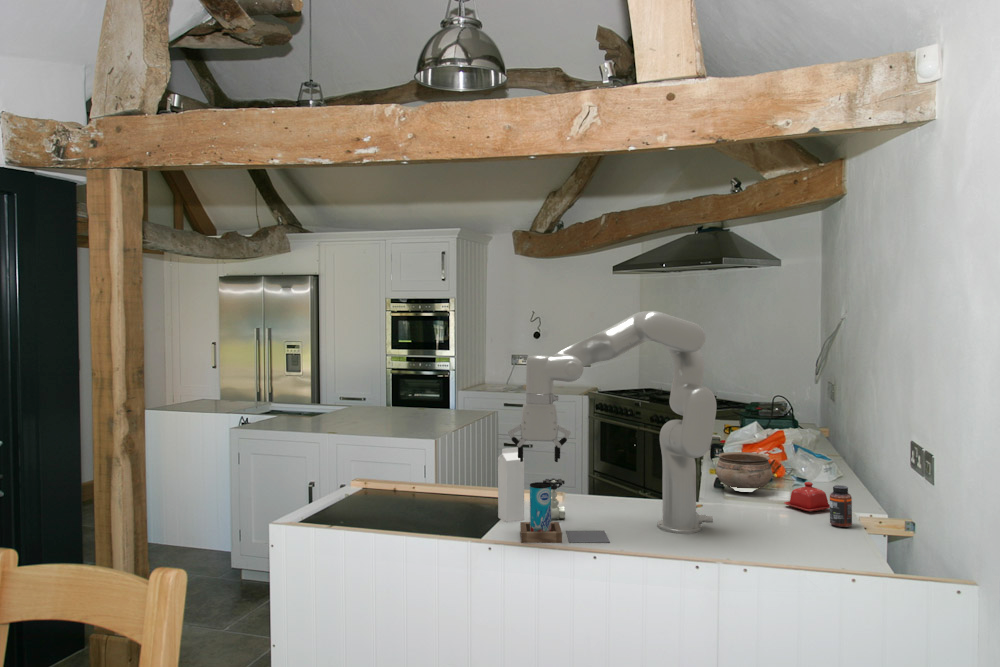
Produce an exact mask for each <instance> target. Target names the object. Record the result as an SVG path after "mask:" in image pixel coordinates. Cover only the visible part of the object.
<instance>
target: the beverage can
mask: <svg viewBox="0 0 1000 667" xmlns="http://www.w3.org/2000/svg"><path fill="white" fill-rule="evenodd" d="M551 492H552V489H551V484H550V483H545V482H543V481H537V482H531V483H530V484H529V522H530V532H547V531H551V522H552V520H551V498H552V497H551Z"/></svg>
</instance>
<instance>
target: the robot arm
mask: <svg viewBox="0 0 1000 667" xmlns="http://www.w3.org/2000/svg"><path fill="white" fill-rule="evenodd" d="M645 342H655V343H658V344H661V345H663V347H664V348H665V349H666V350H668V353H669V354H670V355H671V357H672V360H673V376H672V381H671V382H672V383H671V389H670V393H669V394H670V395H669V401H668V402H669V406H670V409H671V410H672V412H674V413H675V414H677V415H680V416H681V417H682V419H670V420H668V421H666V423H664V424H663V426H662V427H661V429H660V432H659V445H660V446H659V447H660V450H661V452H660V453H661V460H662V462H661V463H662V465H661V466H662V480H661V481H662V519H660V520H658V521H657V525H656V526H657V528H658V529H659V530H660V531H662V532H667V533H672V534H682V535H684V534H685V535H686V534H687V535H690V534H696V533H699V532H701V531H702V530H703V529H702V524H703V523H706V524H712V523H713V522H714V517H713V515H706V514H699V513H698V512H697V464H696V459H698V458H701V457H703V456H704V455H706V454H707V452H708V451H709V449H710V447H711V445H712V441H713V434H714V430H715V422H716V416H717V400H716V396H715V395H714V393H713V391H712V390H711V389H709V388H708V387H706V386H704V385H703V382H704V374H705V361H704V357H703V353H702V351H701V349H702V348H703V347H704V345H705V343H706V333H705V330H704V329H703V328H702V327H701V326H700V325H699V324H698V323H695V322H693V321H691V320H690V321H689V320H687V319H683V318H680V317H676V316H673V315H669V314H668V313H665V312H661V311H657V310H649V311H648V310H647V311H643V310H642V311H639V312H635V313H634V314H631V315H630V316H628V317H626V318H624V319H622V320H621V321H618V322H617V323H615V324H613V325H611V326H609V327H607V328H606V329H603V330H601V331H600V332H598V333H595V334H592V335H591V336H589V337H587V338H586V337H585V338H584V339H582V340H580V341H577V342H575V343H573V344H571V345H569V346H567V347H566V348H563V349H561V350H560V351H557V352H556V353H555V354H553V355H551V356H550V355H546V354H545V355H544V354H543V355H541V354H538V355H537V354H534V355H529V356H528V357H527V358H526V367H525V368H526V369H525V370H526V372H525V374H526V376H525V377H526V378H525V381H526V382H525V385H526V386H525V403H523V404H522V410H521V420H520V424H518V425H516V426H515V427H513V428H510V429H508V431H507V434H508V435H509V438H510V440H511V441H512V443H513V444H514V445H516V447H518V458H520V462H522V461H523V458H524V446H523V445H524V444H525V443H526V441H531V442H534V441H535V442H537V441H538V442H551V441H552V442H553V443H554V444H555V446H554V463H558V462H559V459H561V449H562V446H563V445H564V444H565V443H567V441H568V439H569V437H570V436H571V431H570V430H568V429H567V428H566V427H562V426H561V425H559V424H558V416H557V415H558V414H557V406H556V404H554V402H556V401H559V395H556V394H554V381H557V382H565V383H566V382H567V383H572V382H575V381H577V380H579V379H580V378H581V377H582V375H583V373H584V367H587V366H590V365H592V364H595V363H600V362H607V361H610V360H613V359H616V358H618V357H620V356H622V355H624V354H625V353H627V352H629V351H631V350H633V349H635V348H637V347H639V346H640V345H642V344H644V343H645ZM519 431H520V436H521V437H520V438H519V439H518V438H517V437H516V436H515V433H517V432H519ZM558 432H561V433H562V434H563V436H562V437H561V439H559V440H558Z"/></svg>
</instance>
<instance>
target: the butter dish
mask: <svg viewBox="0 0 1000 667" xmlns="http://www.w3.org/2000/svg"><path fill="white" fill-rule="evenodd" d="M813 485H814V484H813V483H812V482H810V481H805V482H804V486H802V487H797V488H795V489H792V491H791V493H790V498H789V501H785V502H783V504H784V505H787V506H790V507H792V508H795V509H798V510H801V511H804V512H809V513H810V512H819V511H825V510H827V509H830V503H829V501H828V496H827V494H826V493H827V492H825V491H824V490H822V489H820V488H818V487H814V486H813Z"/></svg>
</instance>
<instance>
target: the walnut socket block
mask: <svg viewBox="0 0 1000 667" xmlns="http://www.w3.org/2000/svg"><path fill="white" fill-rule="evenodd" d="M520 541H521V544H531V543H532V544H563V532H562V528H561V525H560V522H559V521H551V531H547V532H530V521H521V522H520Z"/></svg>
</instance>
